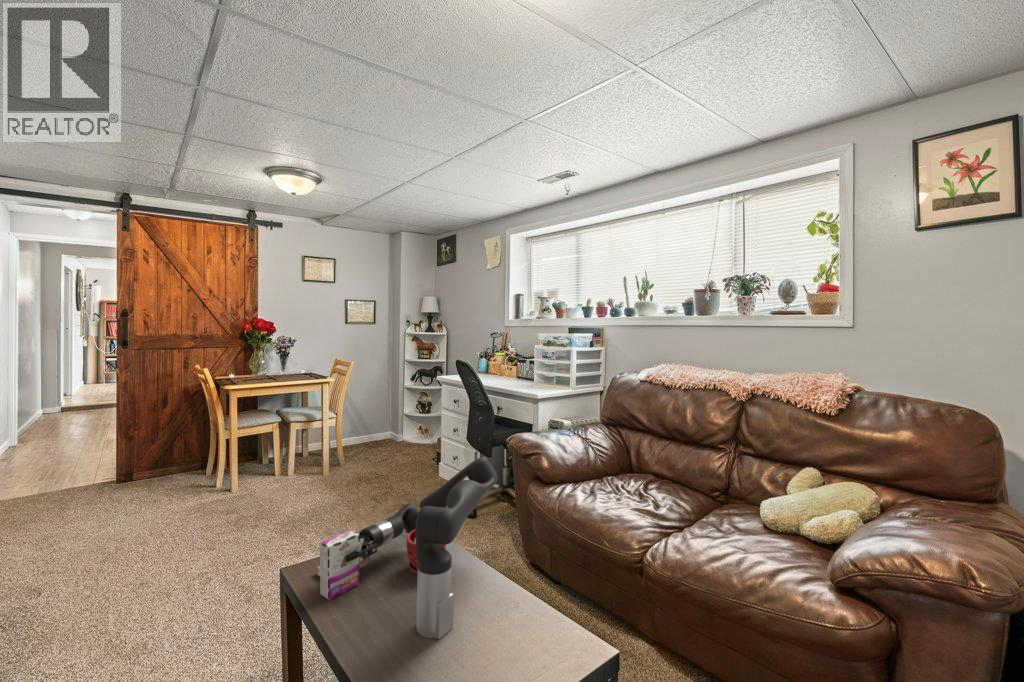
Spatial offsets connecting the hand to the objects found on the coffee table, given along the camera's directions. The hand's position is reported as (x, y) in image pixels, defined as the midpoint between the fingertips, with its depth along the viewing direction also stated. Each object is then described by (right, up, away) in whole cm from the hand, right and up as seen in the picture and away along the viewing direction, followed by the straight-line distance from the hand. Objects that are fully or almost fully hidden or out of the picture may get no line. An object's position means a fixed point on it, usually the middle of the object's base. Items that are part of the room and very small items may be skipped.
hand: (336, 555), depth 145 cm
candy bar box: (0, -12, +2) cm, 12 cm away
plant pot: (+25, -12, +15) cm, 31 cm away
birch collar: (-3, -11, +14) cm, 18 cm away
